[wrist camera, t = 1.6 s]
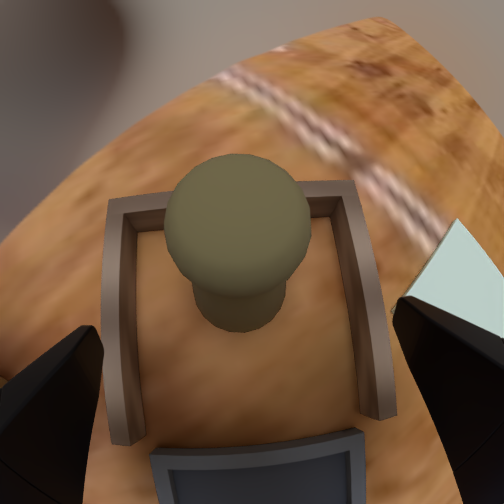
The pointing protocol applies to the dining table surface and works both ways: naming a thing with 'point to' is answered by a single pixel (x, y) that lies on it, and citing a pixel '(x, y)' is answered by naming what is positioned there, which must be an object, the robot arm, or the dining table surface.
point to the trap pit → (265, 472)
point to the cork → (238, 237)
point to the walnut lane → (354, 278)
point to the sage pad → (462, 281)
